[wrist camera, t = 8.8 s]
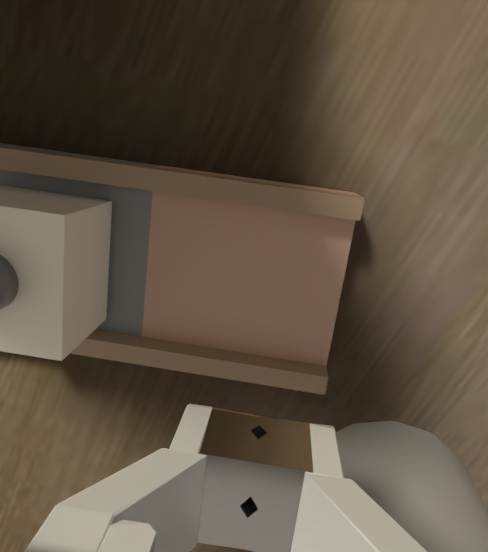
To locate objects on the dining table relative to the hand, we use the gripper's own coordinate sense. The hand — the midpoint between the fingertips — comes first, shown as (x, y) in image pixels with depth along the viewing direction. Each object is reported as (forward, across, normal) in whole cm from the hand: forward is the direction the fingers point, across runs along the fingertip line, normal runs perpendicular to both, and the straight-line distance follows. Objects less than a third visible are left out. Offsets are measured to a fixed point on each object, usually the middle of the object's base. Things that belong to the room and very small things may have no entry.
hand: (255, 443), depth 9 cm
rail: (+11, +9, -1) cm, 15 cm away
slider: (+9, +9, -1) cm, 13 cm away
